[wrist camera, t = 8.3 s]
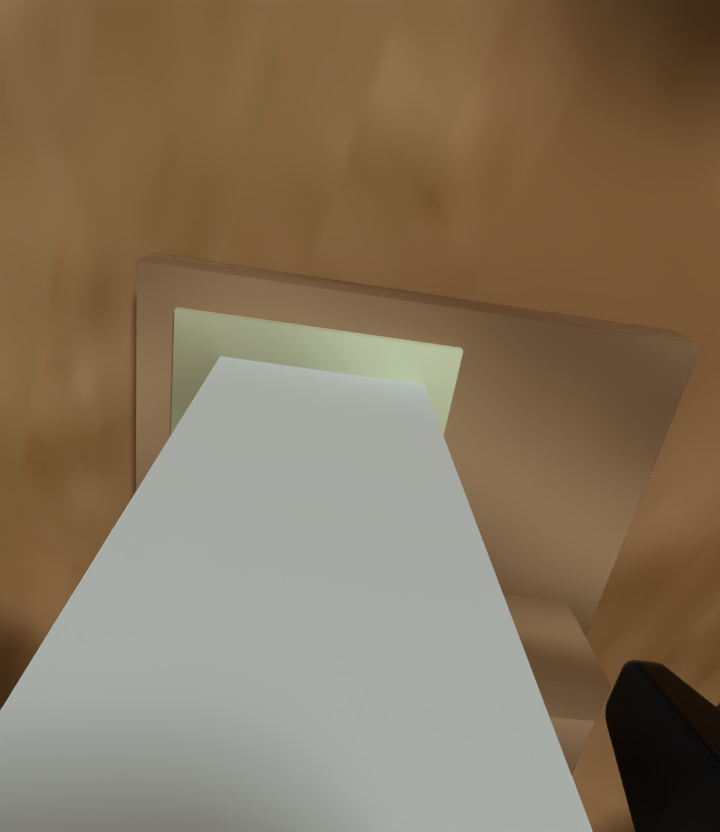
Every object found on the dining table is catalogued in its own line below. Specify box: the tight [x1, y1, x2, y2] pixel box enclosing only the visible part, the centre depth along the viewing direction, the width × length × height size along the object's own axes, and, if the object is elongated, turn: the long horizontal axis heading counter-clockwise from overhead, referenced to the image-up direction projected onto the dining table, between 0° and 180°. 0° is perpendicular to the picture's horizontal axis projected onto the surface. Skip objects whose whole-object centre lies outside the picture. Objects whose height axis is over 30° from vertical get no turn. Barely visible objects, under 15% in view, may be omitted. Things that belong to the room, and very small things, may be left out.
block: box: [0, 356, 593, 832], centre depth 8 cm, size 4×4×9 cm
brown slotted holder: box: [136, 253, 702, 775], centre depth 13 cm, size 14×11×4 cm
